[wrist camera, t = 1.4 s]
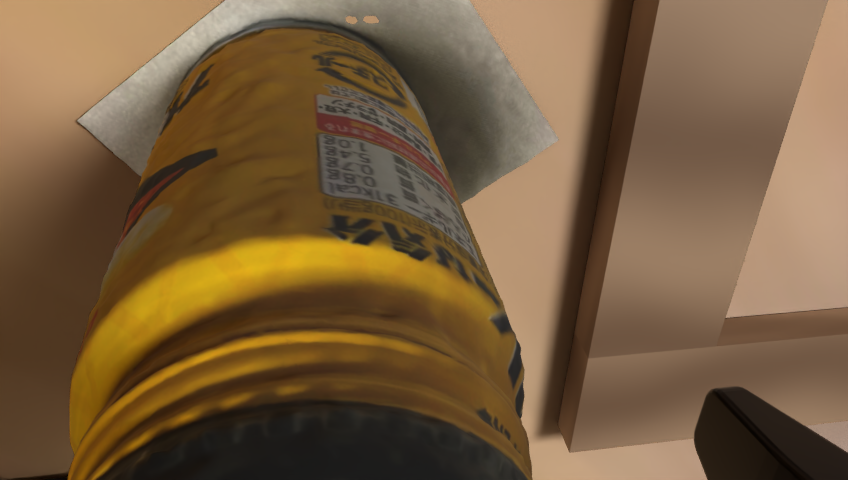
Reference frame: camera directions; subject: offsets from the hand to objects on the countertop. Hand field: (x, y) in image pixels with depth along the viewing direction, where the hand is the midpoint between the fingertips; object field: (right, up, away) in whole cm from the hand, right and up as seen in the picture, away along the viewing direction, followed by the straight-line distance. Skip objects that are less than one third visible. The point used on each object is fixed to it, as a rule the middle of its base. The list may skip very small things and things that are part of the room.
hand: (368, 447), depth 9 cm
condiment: (-2, +5, +8) cm, 10 cm away
